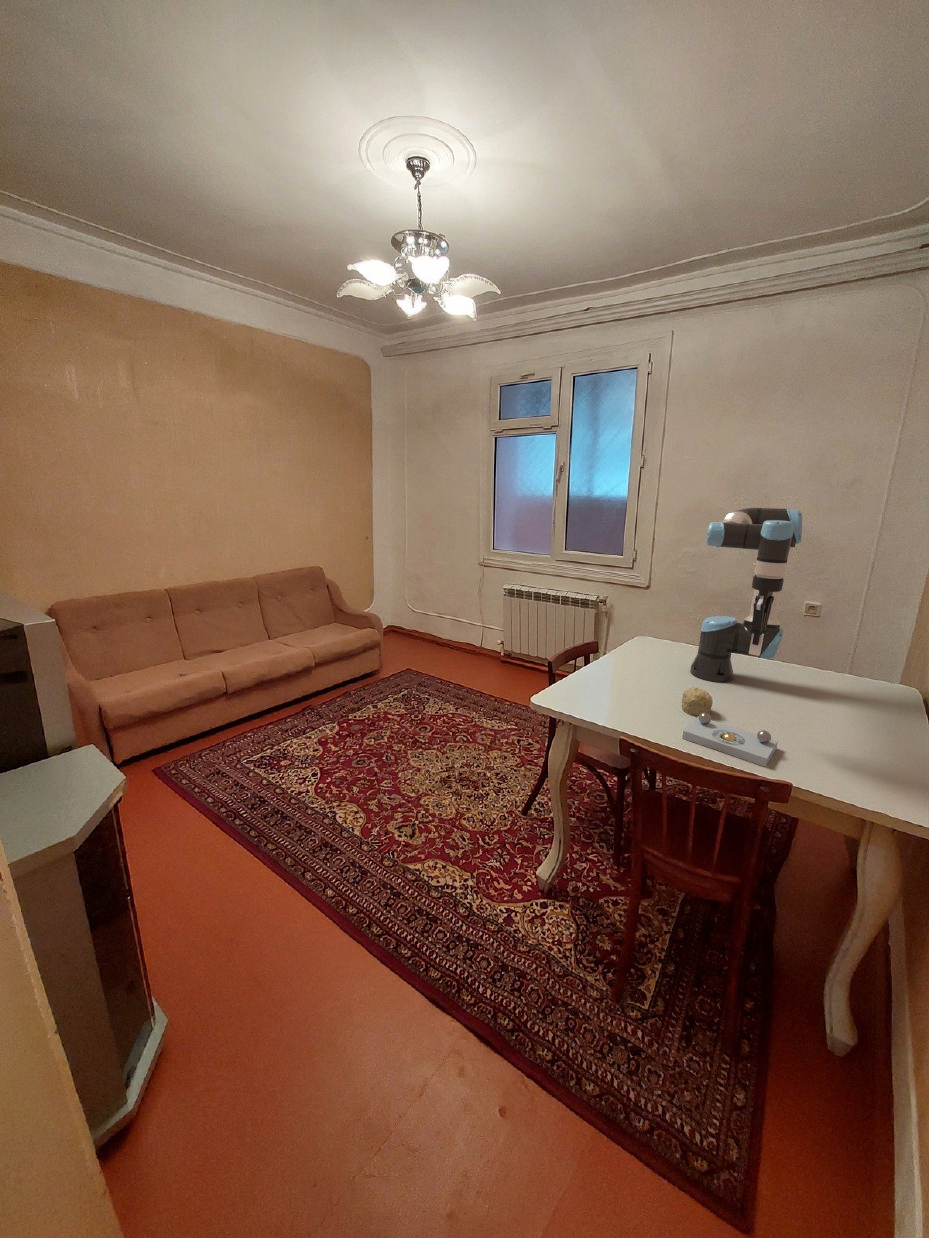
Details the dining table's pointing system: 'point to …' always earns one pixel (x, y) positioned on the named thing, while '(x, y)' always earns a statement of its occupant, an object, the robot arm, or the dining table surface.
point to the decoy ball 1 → (704, 718)
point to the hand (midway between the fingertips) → (754, 654)
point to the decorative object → (696, 701)
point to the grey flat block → (742, 747)
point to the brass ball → (728, 737)
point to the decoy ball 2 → (764, 736)
